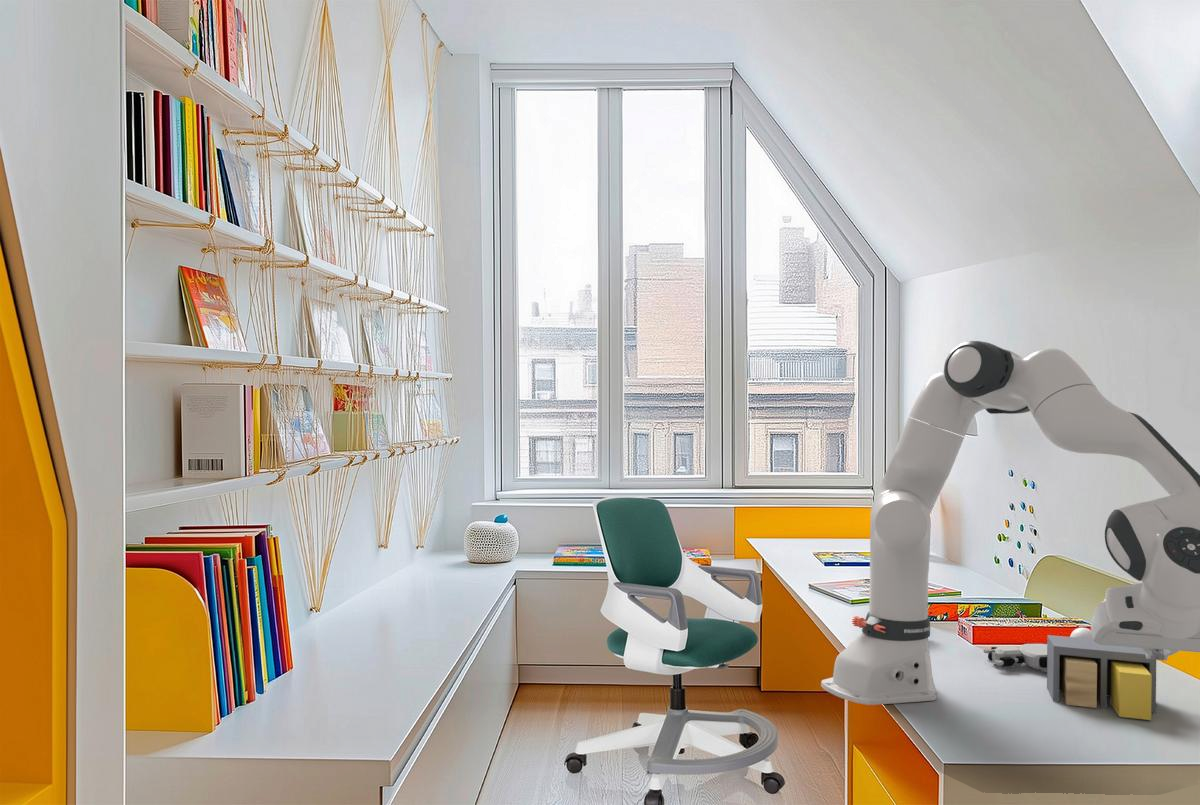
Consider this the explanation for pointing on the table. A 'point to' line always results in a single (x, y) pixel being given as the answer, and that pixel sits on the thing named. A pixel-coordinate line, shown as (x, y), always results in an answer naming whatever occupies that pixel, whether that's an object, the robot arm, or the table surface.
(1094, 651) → the grey slotted holder
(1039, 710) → the table surface
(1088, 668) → the light wood block
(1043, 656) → the robot toy
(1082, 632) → the white egg
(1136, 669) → the yellow rectangular block
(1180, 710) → the table surface
